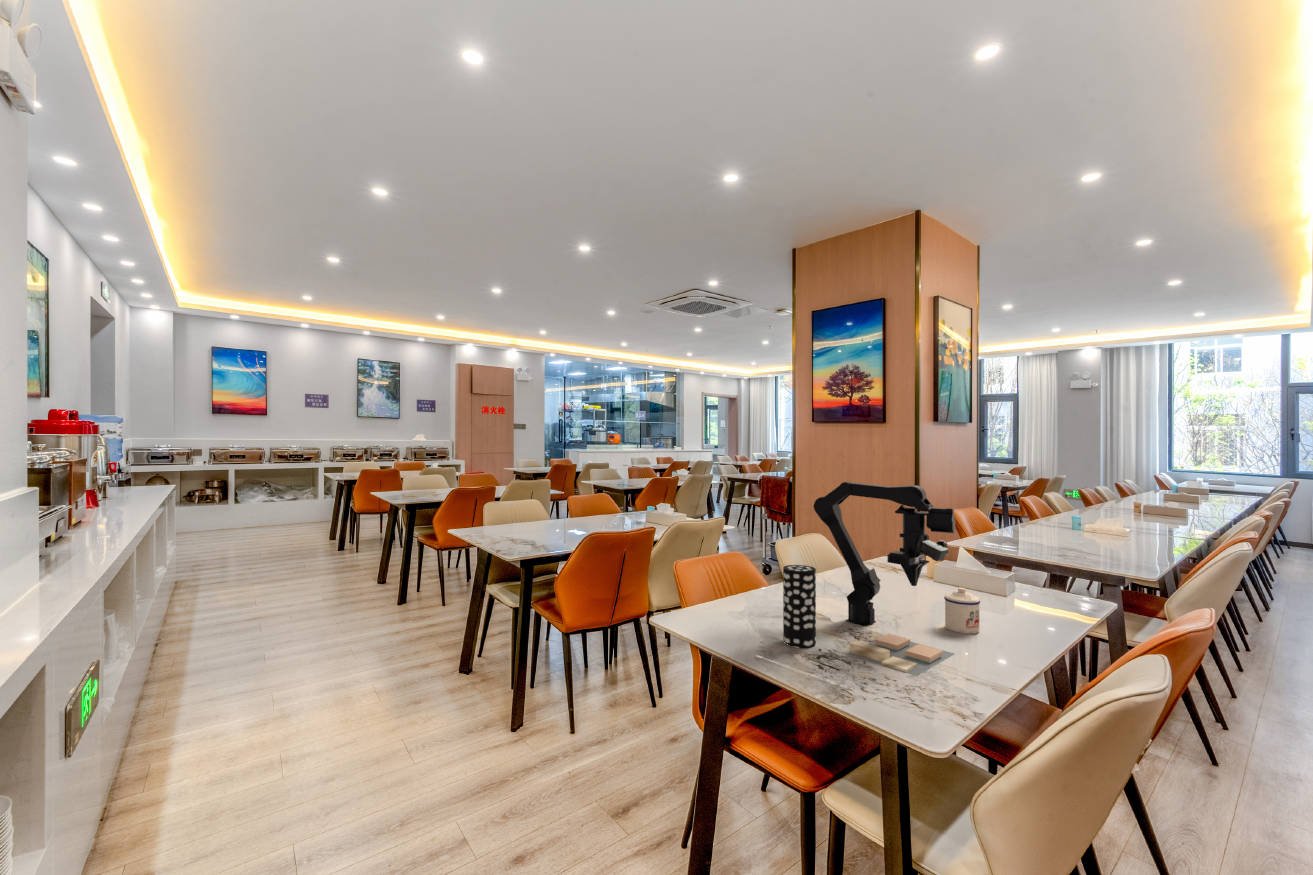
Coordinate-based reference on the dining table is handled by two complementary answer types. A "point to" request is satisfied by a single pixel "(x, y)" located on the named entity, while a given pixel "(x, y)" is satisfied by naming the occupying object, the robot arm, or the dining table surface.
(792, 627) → the spotted tube
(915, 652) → the tile right
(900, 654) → the mat
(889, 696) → the dining table surface
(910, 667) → the cream stepped block
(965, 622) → the teacup with lid
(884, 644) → the tile left
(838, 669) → the dining table surface
